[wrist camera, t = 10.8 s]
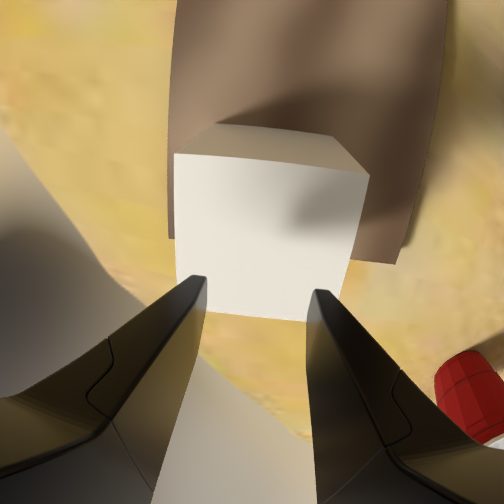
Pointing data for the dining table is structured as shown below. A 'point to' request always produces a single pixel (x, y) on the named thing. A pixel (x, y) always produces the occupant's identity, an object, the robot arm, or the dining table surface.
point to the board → (318, 89)
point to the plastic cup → (472, 397)
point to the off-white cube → (265, 217)
